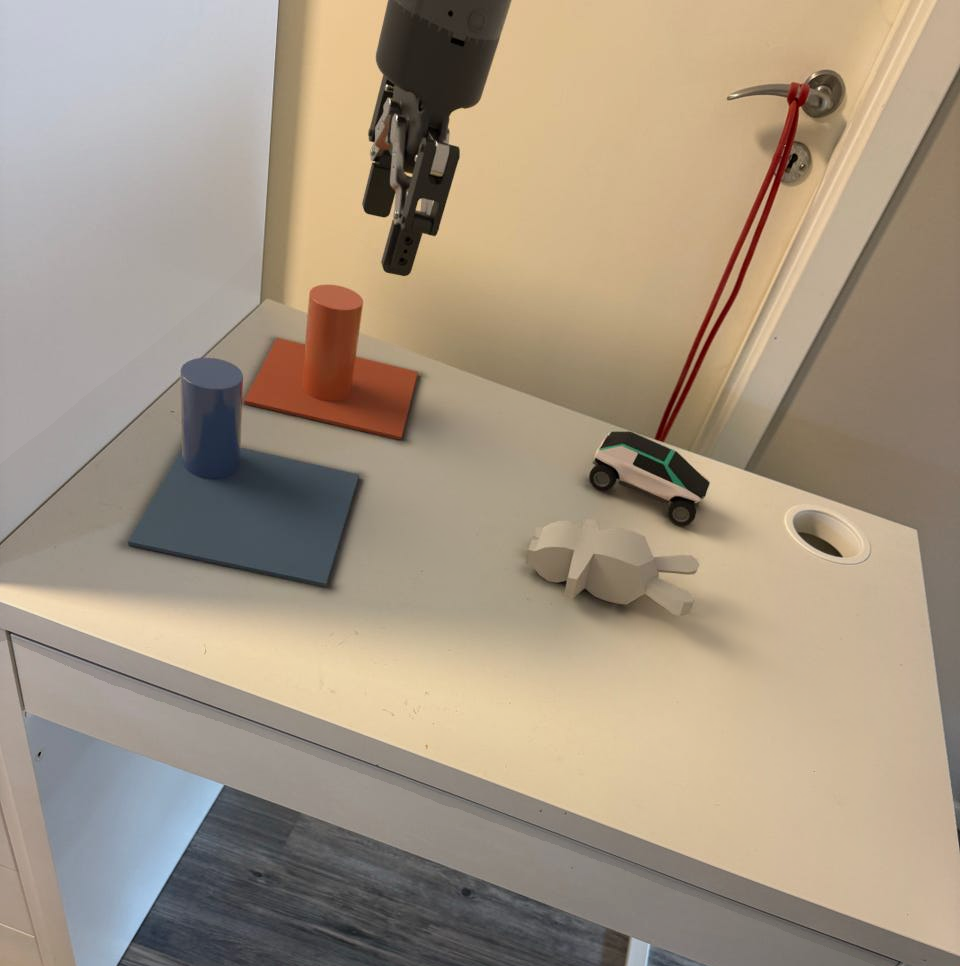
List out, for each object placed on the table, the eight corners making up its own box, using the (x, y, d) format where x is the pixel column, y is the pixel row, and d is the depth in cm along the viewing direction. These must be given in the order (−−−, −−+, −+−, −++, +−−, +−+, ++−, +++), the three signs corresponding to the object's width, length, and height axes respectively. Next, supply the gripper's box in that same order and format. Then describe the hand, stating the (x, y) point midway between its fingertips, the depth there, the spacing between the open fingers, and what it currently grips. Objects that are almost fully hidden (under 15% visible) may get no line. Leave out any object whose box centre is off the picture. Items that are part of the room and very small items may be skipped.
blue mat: (127, 545, 70) (127, 541, 70) (189, 439, 82) (189, 435, 81) (325, 587, 72) (326, 583, 71) (358, 477, 83) (359, 474, 83)
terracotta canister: (296, 394, 90) (304, 301, 83) (307, 370, 94) (315, 279, 87) (346, 406, 91) (358, 314, 84) (355, 381, 94) (367, 292, 88)
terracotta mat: (243, 403, 88) (244, 400, 87) (276, 340, 98) (277, 337, 97) (400, 440, 89) (401, 436, 89) (417, 374, 99) (418, 371, 99)
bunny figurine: (546, 494, 81) (707, 534, 79) (538, 539, 84) (691, 577, 83) (523, 552, 74) (698, 597, 72) (515, 598, 78) (682, 642, 76)
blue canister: (174, 471, 77) (172, 380, 71) (191, 441, 81) (191, 352, 74) (231, 484, 78) (234, 394, 71) (246, 453, 81) (249, 365, 75)
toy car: (599, 459, 95) (614, 416, 92) (701, 504, 93) (721, 462, 90) (581, 483, 91) (597, 440, 87) (688, 531, 89) (709, 489, 86)
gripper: (373, -51, 59) (323, 186, 71) (415, 32, 51) (352, 284, 63) (474, -15, 62) (411, 206, 74) (530, 68, 54) (449, 302, 66)
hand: (384, 242), depth 68 cm, fingers open, 8 cm apart
